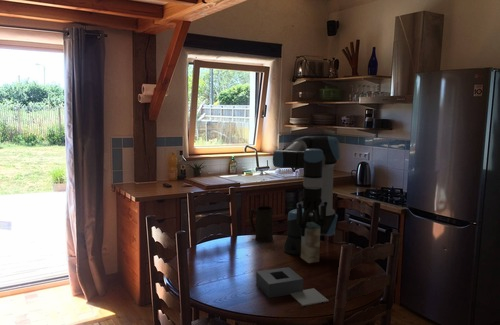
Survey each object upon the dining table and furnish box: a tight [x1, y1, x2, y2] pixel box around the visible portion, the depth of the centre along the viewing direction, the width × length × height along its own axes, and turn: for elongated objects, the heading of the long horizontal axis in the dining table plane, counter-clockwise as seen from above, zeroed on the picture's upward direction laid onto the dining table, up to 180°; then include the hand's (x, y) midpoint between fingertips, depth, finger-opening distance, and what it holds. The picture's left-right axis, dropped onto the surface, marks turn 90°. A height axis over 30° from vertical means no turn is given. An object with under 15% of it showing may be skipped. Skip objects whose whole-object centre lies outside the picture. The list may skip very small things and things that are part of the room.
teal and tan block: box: [300, 222, 321, 264], centre depth 168 cm, size 5×6×15 cm
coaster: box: [290, 287, 329, 307], centre depth 171 cm, size 12×12×1 cm
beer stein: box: [248, 205, 274, 243], centre depth 245 cm, size 15×11×20 cm
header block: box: [255, 266, 304, 299], centre depth 179 cm, size 16×14×6 cm
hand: (310, 242), depth 168 cm, fingers closed on teal and tan block, 5 cm apart
